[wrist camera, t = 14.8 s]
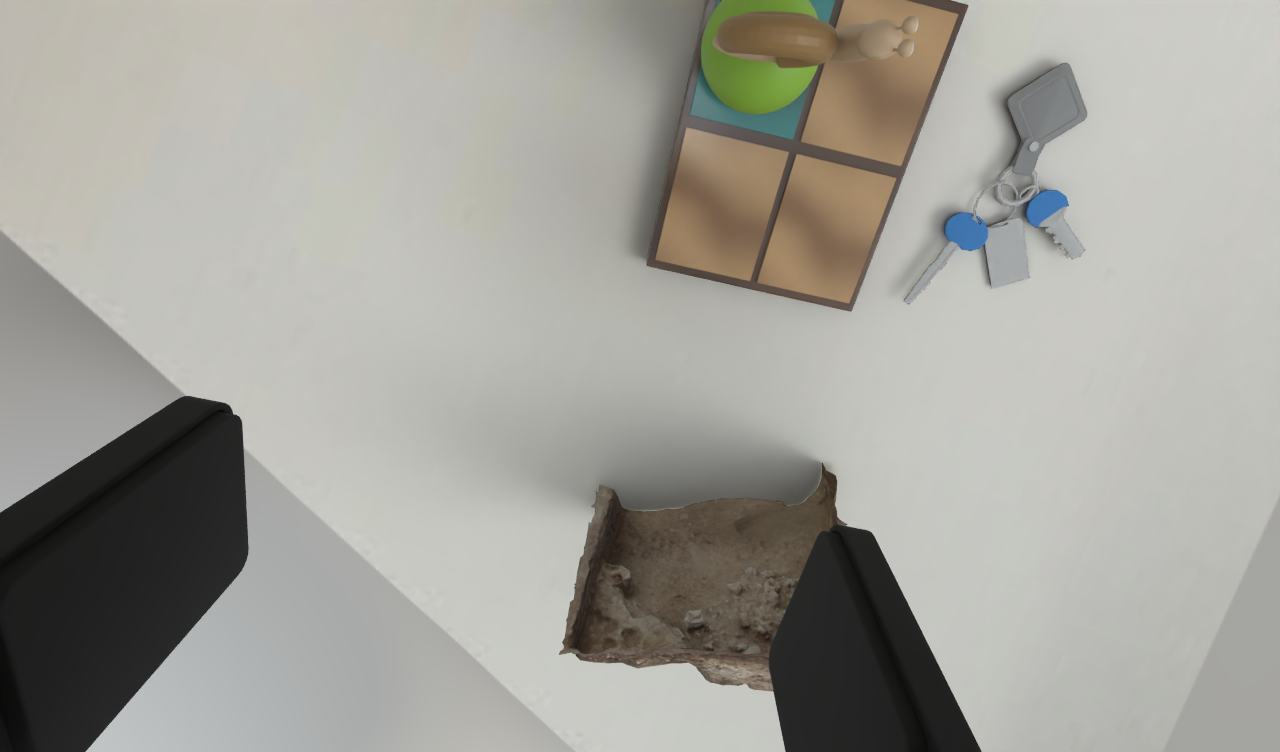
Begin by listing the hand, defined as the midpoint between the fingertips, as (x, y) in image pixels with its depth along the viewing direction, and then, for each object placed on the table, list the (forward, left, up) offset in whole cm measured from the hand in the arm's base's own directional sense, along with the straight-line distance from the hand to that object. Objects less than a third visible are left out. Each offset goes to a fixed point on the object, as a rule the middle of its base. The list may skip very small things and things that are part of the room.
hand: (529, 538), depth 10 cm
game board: (-6, +8, -28) cm, 30 cm away
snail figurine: (-10, +5, -27) cm, 29 cm away
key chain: (-6, +22, -28) cm, 36 cm away
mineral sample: (+17, +10, -28) cm, 35 cm away
